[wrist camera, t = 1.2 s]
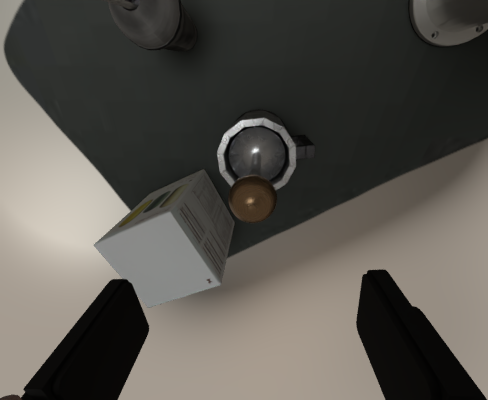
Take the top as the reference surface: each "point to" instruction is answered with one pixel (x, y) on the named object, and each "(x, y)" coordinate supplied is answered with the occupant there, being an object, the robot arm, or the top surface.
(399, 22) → the top surface
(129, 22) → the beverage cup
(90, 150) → the top surface
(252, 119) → the carafe
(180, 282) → the supplement box
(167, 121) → the top surface
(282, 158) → the plunger
